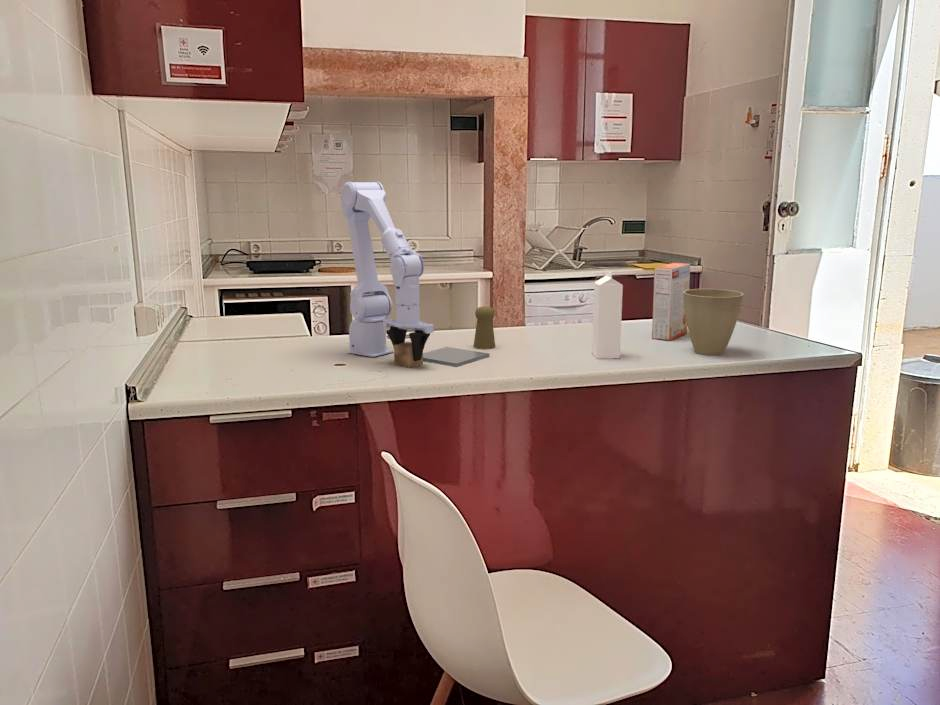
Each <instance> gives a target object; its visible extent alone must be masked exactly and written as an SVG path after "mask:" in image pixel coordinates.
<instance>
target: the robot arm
mask: <svg viewBox="0 0 940 705" xmlns="http://www.w3.org/2000/svg"><path fill="white" fill-rule="evenodd" d="M339 196H340V202H341V203H340V204H341V208H342V213H343V217H345V218H346V222H347V227H348V232H349V233H348V234H349V238H350V239H349V240H350V244H351V249H352V256H353V262H354V268H355V274H356V279H357V285H356V286H355V287H354V288H353V289H352V290H351V291H350V293H349V295H350V296H349V297H350V298H349V299H350V304H349V311H350V313H351V315H352V317H353V318H354V319H353V320H352V321H351V322H350V324H349V330H348V333H349V334H348V335H349V336H348V338H349V350H347V353H348V354H355V355H358V356H359V355H360V356H365V357H370V358H376V357H380V356H383V355H387V354H391V353H394V349H393V350H392V349H387V337H388V338H389V339H390V342H391V344H392V346H393V348H394V345H396V344H400V343H405V342H406V337H407V332H408V331H412V332H409V333H408V336H409V339H410V342H411V343H412V349H413V360H414V361H419V360H421V357H422V353H424V349H425V345H426V344H427V341H428V339H429V337H430V335H431V334H433V333H434V332H435V331H434V324H433V323H426V322H424V321H422V320H420V312H421V311H420V277H421V276H422V275H423V273H424V271H425V270H424V269H425V264H424V260H423V258H422V257H423V256H422V255H421V254H420V253H418V252H416V251H415V250H413V249H412V248H411V246H410V244H409V242H408V241H407V239H406V236H405V235H404V233H403V231H402V229H400V228H396V227H395V225H394V223H393V220H392V217H391V214H390V212H389V210H388V208H387V205H386V199H387V193H386V191H385V188H384V186H383V184H382V183H381V182H380V181H373V182H372V181H370V182H369V181H366V182H364V181H359V182H358V181H357V182H356V181H355V182H353V181H346V182H345V183H343V186H342V188H341V192H340V194H339ZM370 218H372V220H373V222H374V224H375V225H376V226H377V229H378V230H379V231H380V233H381V237H380V242H381V244H382V247H383V249H384V250H385V253H386V254H387V257H388V259H389V261H390V265H389V271H390V274H391V276H392V283H393V286H394V287H395V317H396V318H389V317H390V315H391V314H392V311H393V300H392V298H391V296H390V294H389V291H388V287H387V286H386V285H384V284H383V283H382V282H380V281H379V278H378V273H377V266H376V261H375V255H374V250H373V243H372V239H371V238H372V237H371V232H370V227H369V220H370ZM387 328H389V330H387Z"/></svg>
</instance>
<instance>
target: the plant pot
mask: <svg viewBox="0 0 940 705" xmlns="http://www.w3.org/2000/svg"><path fill="white" fill-rule="evenodd" d="M683 297H684V307H685V315H686V321H687V332H688V335H689V337H690V342H691V345H692V349H693V350H694V353H697V354H699V355H705V356H721V355H723V354H724V353H725V351H726V350H727V347H728V345H729V343H730V340H731V338H732V335H733V333H734V330H735V328H736V326H737V325H736V324H737V321H738V318H739V315H740V311H741V307H742V304H743V298H744V292H740V291H738V290H729V289H721V288H719V289H718V288H693V289H689V290H685V291H683Z"/></svg>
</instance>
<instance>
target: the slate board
mask: <svg viewBox="0 0 940 705" xmlns="http://www.w3.org/2000/svg"><path fill="white" fill-rule="evenodd" d="M488 357H490V353H488V352H483V351H477V350H470V349H463V348H456V347H452V346H451V347H450V346H445V347H442V348H438V349H433V350H430V351H427V352H423V362H427V361H428V363H432V362H433V363H434V364H438V363H439V365H444V364H445V366H449V367H450V366H451V367H455V366H456V368H457V367H460V366H464V365H466V364H470V363H473V362H476V361H479V360H482V359H485V358H488ZM463 364H464V365H463Z"/></svg>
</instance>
